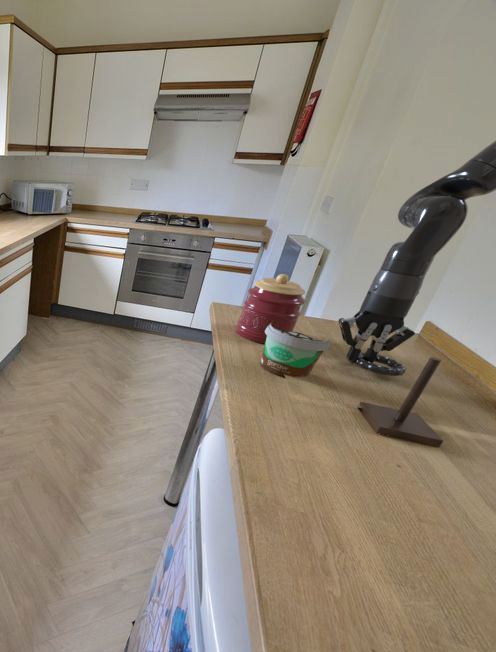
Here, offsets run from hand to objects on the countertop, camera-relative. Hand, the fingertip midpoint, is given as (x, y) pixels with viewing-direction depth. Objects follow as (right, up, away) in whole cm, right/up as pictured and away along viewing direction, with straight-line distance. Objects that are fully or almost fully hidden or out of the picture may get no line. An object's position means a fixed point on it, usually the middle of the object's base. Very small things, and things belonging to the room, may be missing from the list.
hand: (357, 362), depth 95 cm
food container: (-19, -3, -1) cm, 19 cm away
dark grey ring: (+3, 0, -1) cm, 4 cm away
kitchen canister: (-10, +6, +18) cm, 22 cm away
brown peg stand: (-9, -11, -18) cm, 23 cm away
